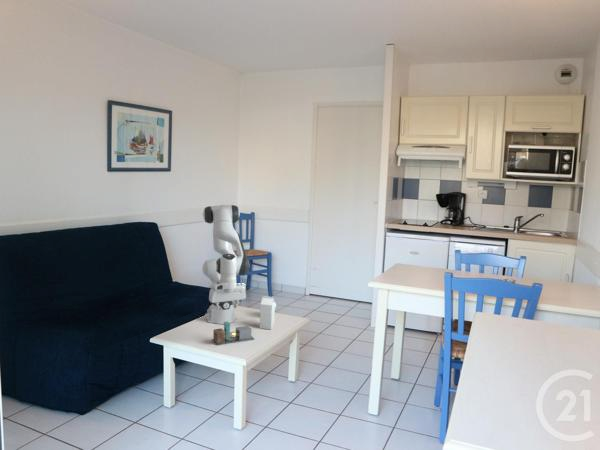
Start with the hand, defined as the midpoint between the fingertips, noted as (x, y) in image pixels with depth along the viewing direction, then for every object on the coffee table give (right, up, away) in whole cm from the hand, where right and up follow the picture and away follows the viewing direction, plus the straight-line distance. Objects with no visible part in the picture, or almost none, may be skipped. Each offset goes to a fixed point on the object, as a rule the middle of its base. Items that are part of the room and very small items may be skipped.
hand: (227, 308), depth 262 cm
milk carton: (+20, -16, +27) cm, 37 cm away
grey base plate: (+2, -18, +3) cm, 18 cm away
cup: (+19, -14, +46) cm, 52 cm away
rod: (+2, -17, +3) cm, 17 cm away
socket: (-4, -18, 0) cm, 19 cm away
